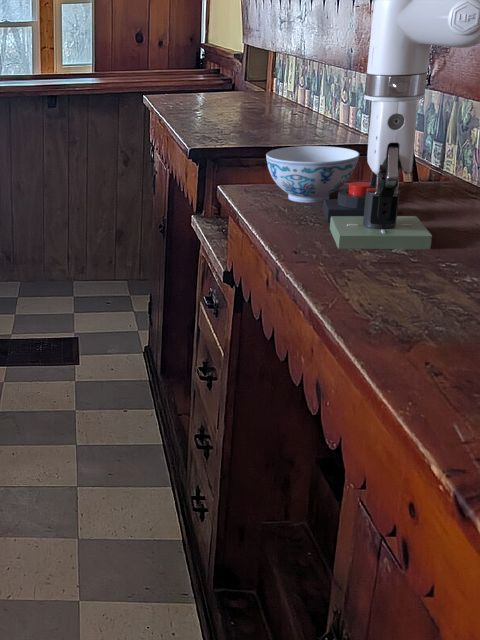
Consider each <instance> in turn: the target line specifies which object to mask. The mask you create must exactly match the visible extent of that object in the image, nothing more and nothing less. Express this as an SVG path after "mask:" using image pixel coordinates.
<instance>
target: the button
mask: <svg viewBox="0 0 480 640" xmlns="http://www.w3.org/2000/svg"><path fill="white" fill-rule="evenodd" d="M368 187H370V181H352V182H350V183H349V184H348V189H349V193H348V194H350V195H357V196H366V190H367V188H368Z"/></svg>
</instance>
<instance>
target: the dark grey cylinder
mask: <svg viewBox="0 0 480 640" xmlns="http://www.w3.org/2000/svg"><path fill="white" fill-rule="evenodd" d="M375 190H376V188H367V190H366V198H365V207H364V217H363V226H365V227H368V228H374V229H389V228H393V227H395V226H396V219H397V216H398V210H399V202H400V195H401V191H400V190H399V189H398V194H397V195H398V200H397V208H396V216H395V223H394V224H371V222H370V216H371V207H372V198H373V195H375Z"/></svg>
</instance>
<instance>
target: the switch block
mask: <svg viewBox="0 0 480 640" xmlns="http://www.w3.org/2000/svg"><path fill="white" fill-rule="evenodd" d="M348 193H349V188H344V189H341V190H339V191H338V192H337V198H329V199H324V201H323V206H322V214H323V216H324V219H325V221H326V223H327V224H330V220H331V216H364V207H365V198H366V196H357V195H350V194H348Z"/></svg>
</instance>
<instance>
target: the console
mask: <svg viewBox="0 0 480 640" xmlns="http://www.w3.org/2000/svg"><path fill="white" fill-rule="evenodd" d="M363 217H364V216H331V220H330V223H329V230H330V233H331V235H332V238H333V241H334V242H335V244H336V247H337V250H341V249H342V250H431V248H432V240H433V235H432V234H431V232H430V231H429V230H428V229H427V227H426V226H425V225H424V224H423V223H422V221H421V220H420V219H419V218H418V216H416V215H397V219H396V226H395V227H393V228H389V229H374V228H368V227H365V226H363Z"/></svg>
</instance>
